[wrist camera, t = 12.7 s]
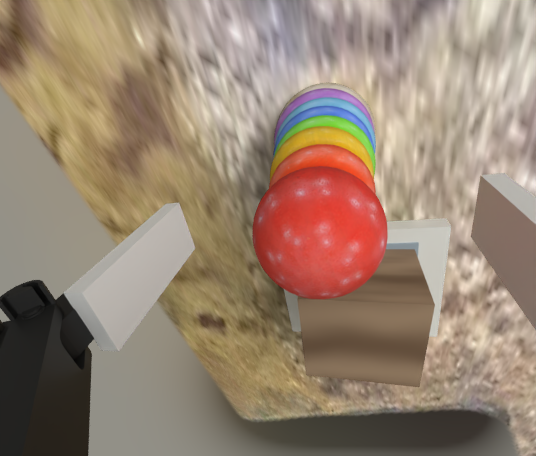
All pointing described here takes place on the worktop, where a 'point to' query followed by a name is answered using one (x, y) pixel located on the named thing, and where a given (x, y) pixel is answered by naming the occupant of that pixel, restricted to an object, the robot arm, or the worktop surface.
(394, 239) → the baseplate
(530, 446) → the worktop surface
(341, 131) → the stacking toy
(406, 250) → the walnut block
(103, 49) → the worktop surface
